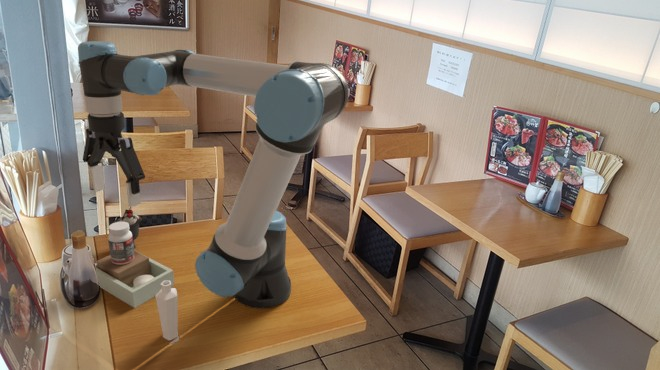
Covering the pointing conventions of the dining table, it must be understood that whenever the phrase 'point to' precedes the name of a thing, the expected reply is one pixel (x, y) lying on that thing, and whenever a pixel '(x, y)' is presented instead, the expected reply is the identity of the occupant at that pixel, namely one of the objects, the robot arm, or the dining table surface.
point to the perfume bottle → (168, 311)
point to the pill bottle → (121, 243)
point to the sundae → (131, 222)
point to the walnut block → (125, 268)
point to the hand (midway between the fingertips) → (116, 197)
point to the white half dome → (141, 280)
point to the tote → (140, 293)
